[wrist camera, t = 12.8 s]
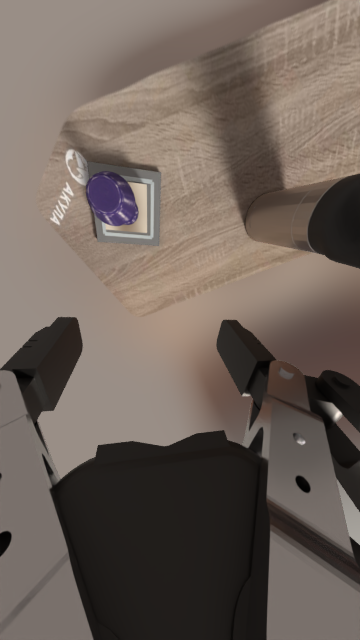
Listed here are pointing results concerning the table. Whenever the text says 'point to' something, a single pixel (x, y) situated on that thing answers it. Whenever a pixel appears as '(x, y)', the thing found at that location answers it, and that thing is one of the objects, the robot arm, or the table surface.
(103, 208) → the toy lamp
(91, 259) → the table surface
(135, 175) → the slate board
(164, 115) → the table surface
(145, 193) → the cream block
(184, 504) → the robot arm
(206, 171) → the table surface
